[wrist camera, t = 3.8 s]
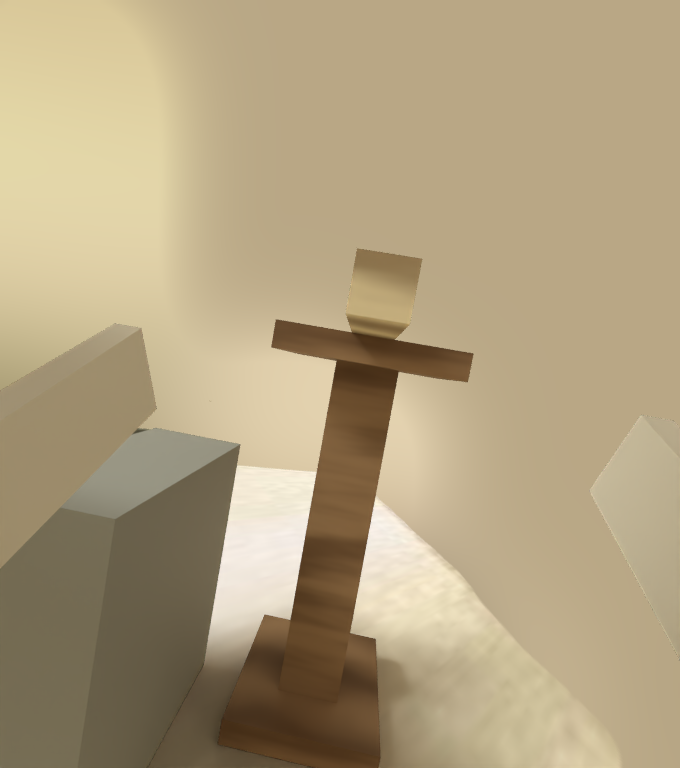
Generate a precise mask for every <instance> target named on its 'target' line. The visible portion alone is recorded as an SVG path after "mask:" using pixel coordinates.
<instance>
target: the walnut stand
mask: <svg viewBox="0 0 680 768" xmlns="http://www.w3.org/2000/svg"><path fill="white" fill-rule="evenodd" d="M272 348H277V349H281V350H285V351H289V352H293V353H297V354H302V355H307V356H313V357H319V358H324V359H330V360H335V361H337V362H336V367H335V373H334V379H333V384H332V390H331V396H330V401H329V407H328V412H327V418H326V424H325V429H324V435H323V440H322V446H321V452H320V458H319V463H318V468H317V474H316V480H315V485H314V491H313V497H312V502H311V508H310V513H309V519H308V525H307V530H306V536H305V542H304V547H303V553H302V558H301V564H300V570H299V575H298V581H297V587H296V592H295V598H294V604H293V609H292V615H291V620H287V619H282V618H278V617H273V616H269V615H264V617H263V620H262V622H261V625H260V627H259V630H258V632H257V634H256V637H255V639H254V642H253V644H252V647H251V649H250V652H249V654H248V656H247V659H246V661H245V664H244V666H243V669H242V671H241V674H240V676H239V679H238V681H237V683H236V686H235V688H234V691H233V693H232V696H231V698H230V701H229V703H228V705H227V708H226V710H225V713H224V715H223V718H222V722H221V727H220V733H219V739H218V744H219V745H223V746H228V747H232V748H236V749H240V750H244V751H248V752H252V753H256V754H260V755H265V756H269V757H273V758H277V759H281V760H285V761H289V762H293V763H297V764H302V765H306V766H310V767H314V768H378V767H379V761H380V735H379V711H378V686H377V662H376V639H373V638H369V637H364V636H360V635H355V634H350V630H351V625H352V619H353V614H354V609H355V603H356V598H357V593H358V587H359V582H360V576H361V571H362V566H363V560H364V555H365V550H366V544H367V539H368V533H369V528H370V523H371V517H372V512H373V507H374V501H375V496H376V490H377V485H378V479H379V474H380V469H381V463H382V458H383V452H384V447H385V442H386V437H387V431H388V426H389V420H390V415H391V410H392V404H393V399H394V394H395V388H396V383H397V378H398V372H403V373H409V374H414V375H420V376H425V377H431V378H437V379H446V380H454V381H464V382H468V378H469V374H470V368H471V364H472V358H473V353H467V352H461V351H455V350H450V349H444V348H438V347H432V346H426V345H420V344H415V343H409V342H403V341H398V340H392V339H386V338H380V337H375V336H369V335H363V334H357V333H352V332H345V331H340V330H334V329H328V328H323V327H317V326H311V325H305V324H300V323H294V322H288V321H282V320H276V322H275V329H274V334H273V341H272Z"/></svg>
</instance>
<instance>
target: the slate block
mask: <svg viewBox="0 0 680 768" xmlns="http://www.w3.org/2000/svg"><path fill="white" fill-rule="evenodd" d="M239 449H240V444H236V443H231V442H226V441H221V440H216V439H211V438H205V437H200V436H195V435H190V434H185V433H180V432H174V431H169V430H164V429H158V428H154V429H150V430H146V431H143V432H139V433H136V434H132V435H131V436H130V437H129V438H128V439H127V440H126V441H125V442H124V443H123V444H122V445H121V446H120V447H119V448H118V449H117V450H116V451H115V452H114V453H113V454H112V455H111V456H110V457H109V458H108V459H107V460H106V461H105V462H104V463H103V464H102V465H101V466H100V467H99V468H98V469H97V470H96V471H95V472H94V473H93V474H92V475H91V476H90V477H89V479H88V480H87V481H86V482H85V483H84V484H83V485H82V486H81V487H80V488H79V489H78V490H77V491H76V492H75V493H74V494H73V495H72V496H71V497H70V498H69V499H68V500H67V501H66V502H65V503H64V504H63V505H62V506H61V507H60V508H59V509H58V510H57V511H56V512H55V513H54V514H53V515H52V516H51V517H50V518H49V519H48V520H47V521H46V522H45V523H44V524H43V525H42V526H41V527H40V529H39V530H38V531H37V532H36V533H35V534H34V535H33V536H32V537H31V538H30V539H29V540H28V541H27V542H26V543H25V544H24V545H23V546H22V547H21V548H20V549H19V550H18V551H17V552H16V553H15V554H14V555H13V556H12V557H11V558H10V559H9V560H8V561H7V562H6V563H5V564H4V565H3V566H2V567H1V568H0V768H147V767H148V765H149V763H150V762H151V760H152V758H153V756H154V754H155V752H156V751H157V749H158V747H159V745H160V743H161V741H162V740H163V738H164V736H165V734H166V732H167V730H168V729H169V727H170V725H171V723H172V721H173V719H174V718H175V716H176V714H177V712H178V710H179V708H180V707H181V705H182V703H183V701H184V699H185V697H186V696H187V694H188V692H189V690H190V688H191V687H192V685H193V683H194V681H195V679H196V677H197V676H198V674H199V672H200V670H201V668H202V666H203V665H204V659H205V653H206V647H207V641H208V635H209V629H210V623H211V617H212V611H213V605H214V599H215V593H216V587H217V581H218V575H219V569H220V563H221V557H222V551H223V545H224V539H225V533H226V527H227V521H228V515H229V509H230V503H231V497H232V491H233V485H234V479H235V473H236V467H237V461H238V455H239Z"/></svg>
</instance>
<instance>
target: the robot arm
mask: <svg viewBox="0 0 680 768" xmlns="http://www.w3.org/2000/svg"><path fill="white" fill-rule="evenodd" d="M156 409H157V408H156V402H155V397H154V392H153V387H152V381H151V376H150V371H149V366H148V361H147V355H146V350H145V345H144V340H143V334H142V329H141V328H138V327H133V326H127V325H121V324H113V325H111V326H110V327H108V328H106V329H105V330H103V331H101V332H100V333H98V334H96V335H94V336H93V337H91V338H89V339H87V340H86V341H84V342H82V343H81V344H79V345H77V346H75V347H74V348H72V349H70V350H69V351H67V352H65V353H64V354H62V355H60V356H58V357H57V358H55V359H53V360H52V361H50V362H48V363H46V364H45V365H43V366H41V367H40V368H38V369H36V370H34V371H33V372H31V373H29V374H27V375H26V376H24V377H22V378H21V379H19V380H17V381H15V382H14V383H12V384H10V385H9V386H7V387H5V388H3V389H2V390H0V568H1V567H2V566H3V565H4V564H5V563H6V562H7V561H8V560H9V559H10V558H11V557H12V556H13V555H14V554H15V553H16V552H17V551H18V550H19V549H20V548H21V547H22V546H23V545H24V544H25V543H26V542H27V541H28V540H29V539H30V538H31V537H32V536H33V535H34V534H35V533H36V532H37V531H38V530H39V529H40V527H41V526H42V525H43V524H44V523H45V522H46V521H47V520H48V519H49V518H50V517H51V516H52V515H53V514H54V513H55V512H56V511H57V510H58V509H59V508H60V507H61V506H62V505H63V504H64V503H65V502H66V501H67V500H68V499H69V498H70V497H71V496H72V495H73V494H74V493H75V492H76V491H77V490H78V489H79V488H80V487H81V486H82V485H83V484H84V483H85V482H86V481H87V480H88V479H89V477H90V476H91V475H92V474H93V473H94V472H95V471H96V470H97V469H98V468H99V467H100V466H101V465H102V464H103V463H104V462H105V461H106V460H107V459H108V458H109V457H110V456H111V455H112V454H113V453H114V452H115V451H116V450H117V449H118V448H119V447H120V446H121V445H122V444H123V443H124V442H125V441H126V440H127V439H128V438H129V437H130V436H131V435H132V434H133V433H134V432H135V431H136V430H137V429H138V427H139V426H140V425H141V424H142V423H143V422H144V421H145V420H146V419H147V418H148V417H149V416H150V415H151V414H152V413H153V412H154V411H155V410H156ZM589 492H590V493H591V495H592V497H593V499H594V501H595V503H596V505H597V507H598V508H599V510H600V512H601V514H602V516H603V518H604V519H605V522H606V523H607V525H608V527H609V529H610V531H611V533H612V535H613V537H614V538H615V540H616V542H617V544H618V546H619V548H620V550H621V551H622V553H623V555H624V557H625V559H626V561H627V562H628V565H629V566H630V568H631V570H632V572H633V574H634V576H635V578H636V580H637V581H638V583H639V585H640V587H641V589H642V591H643V592H644V595H645V596H646V598H647V600H648V602H649V604H650V606H651V607H652V610H653V611H654V613H655V615H656V617H657V619H658V620H659V622H660V624H661V626H662V628H663V630H664V632H665V634H666V636H667V638H668V639H669V641H670V643H671V645H672V647H673V649H674V651H675V653H676V654H677V656H678V658H679V660H680V427H679V426H678V425H677V424H676V423H675V422H674V421H673V420H668V419H662V418H656V417H650V416H644V415H641V416H640V417H639V419H638V420H637V422H636V423H635V424H634V426H633V427H632V429H631V431H630V432H629V433H628V435H627V436H626V438H625V439H624V441H623V442H622V443H621V445H620V446H619V448H618V449H617V451H616V452H615V454H614V455H613V457H612V458H611V460H610V461H609V463H608V464H607V465H606V467H605V468H604V470H603V471H602V473H601V474H600V476H599V477H598V479H597V480H596V481H595V483H594V484H593V486H592V487H591V489H590V490H589Z"/></svg>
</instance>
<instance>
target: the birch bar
mask: <svg viewBox="0 0 680 768" xmlns="http://www.w3.org/2000/svg"><path fill="white" fill-rule="evenodd" d="M421 262H422V259H420V258H413V257H407V256H401V255H395V254H389V253H383V252H376V251H370V250H364V249H357V252H356V258H355V263H354V269H353V275H352V280H351V286H350V292H349V298H348V304H347V308H346V316H347V319H348V322H349V325H350V328H351V331H352V333H357V334H363V335H369V336H375V337H380V338H386V339H392V340H395V339H396V338H397V337H398V336H399V335H400V334H401V333H402V332H403V331H404V330H405V329H406V328H407V327H408V326H409V325H410V321H411V316H412V311H413V306H414V300H415V295H416V290H417V283H418V278H419V273H420V268H421Z"/></svg>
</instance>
